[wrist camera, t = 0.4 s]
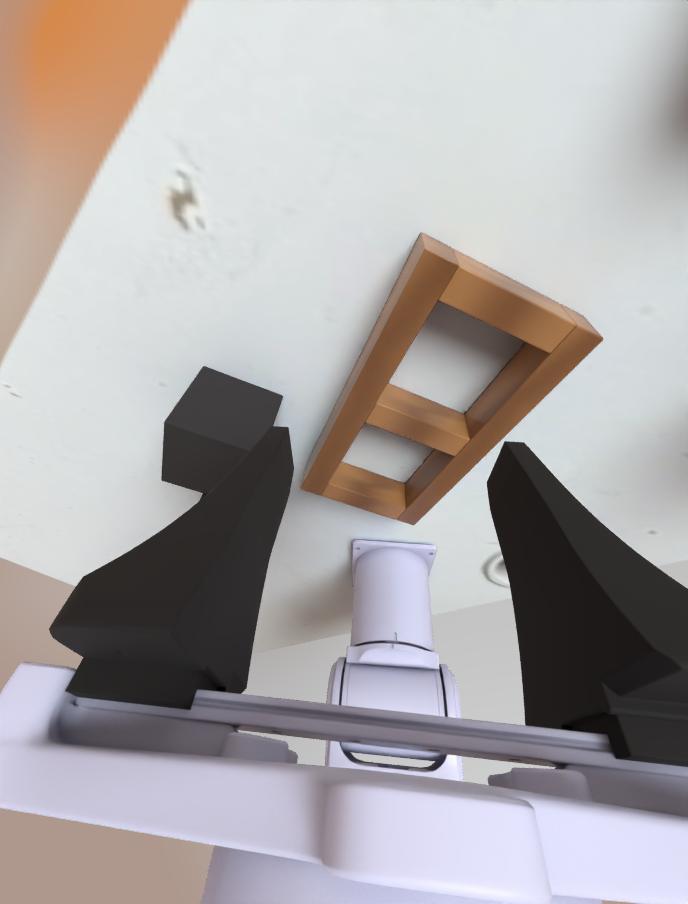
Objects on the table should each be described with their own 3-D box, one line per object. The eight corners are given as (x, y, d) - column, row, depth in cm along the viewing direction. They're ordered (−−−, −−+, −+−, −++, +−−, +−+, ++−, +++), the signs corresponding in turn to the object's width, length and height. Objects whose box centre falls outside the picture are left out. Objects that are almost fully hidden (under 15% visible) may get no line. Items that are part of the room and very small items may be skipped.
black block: (283, 395, 23) (261, 454, 19) (265, 446, 27) (244, 506, 23) (203, 365, 22) (163, 421, 18) (195, 423, 26) (160, 480, 22)
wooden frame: (584, 315, 18) (605, 339, 16) (412, 500, 30) (414, 526, 28) (421, 231, 16) (425, 247, 14) (305, 464, 28) (300, 489, 26)
